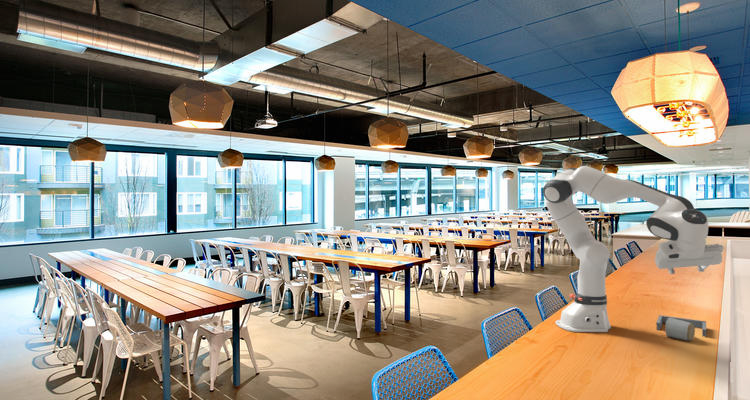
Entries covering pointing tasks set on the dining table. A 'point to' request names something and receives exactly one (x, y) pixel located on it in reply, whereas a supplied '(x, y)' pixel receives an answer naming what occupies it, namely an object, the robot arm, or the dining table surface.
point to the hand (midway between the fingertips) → (685, 271)
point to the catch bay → (695, 322)
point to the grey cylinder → (679, 329)
